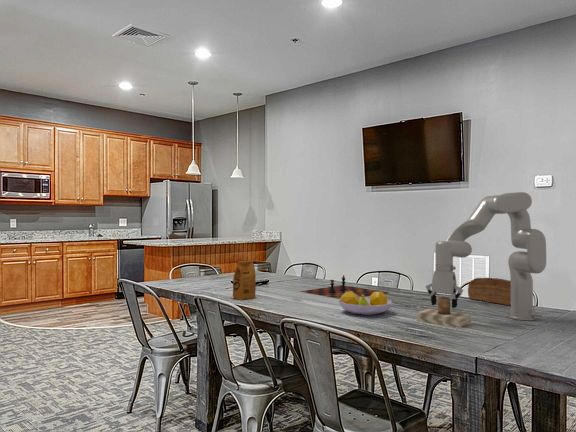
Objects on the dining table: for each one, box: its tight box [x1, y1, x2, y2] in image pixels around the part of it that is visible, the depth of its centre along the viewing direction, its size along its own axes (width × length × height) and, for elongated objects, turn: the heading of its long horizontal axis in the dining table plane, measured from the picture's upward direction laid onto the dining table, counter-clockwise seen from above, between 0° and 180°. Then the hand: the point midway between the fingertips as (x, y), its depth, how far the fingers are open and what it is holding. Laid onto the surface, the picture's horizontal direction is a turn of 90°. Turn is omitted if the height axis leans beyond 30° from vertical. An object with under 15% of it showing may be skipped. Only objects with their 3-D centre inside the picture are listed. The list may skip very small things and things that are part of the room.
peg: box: [437, 296, 451, 315], centre depth 213 cm, size 5×5×11 cm
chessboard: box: [299, 275, 389, 300], centre depth 299 cm, size 40×40×11 cm
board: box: [416, 308, 472, 329], centre depth 213 cm, size 20×12×4 cm, turn 46°
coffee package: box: [232, 260, 257, 301], centre depth 274 cm, size 10×12×22 cm
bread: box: [467, 277, 511, 306], centre depth 266 cm, size 12×31×14 cm, turn 35°
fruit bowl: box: [337, 291, 392, 316], centre depth 234 cm, size 28×27×11 cm
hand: (443, 306), depth 213 cm, fingers open, 9 cm apart
